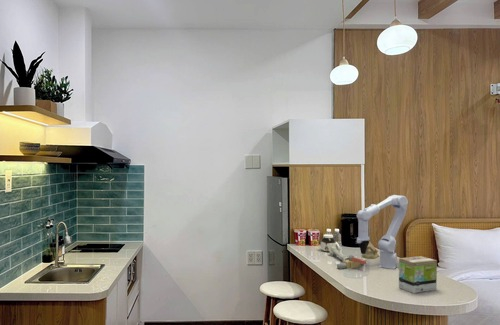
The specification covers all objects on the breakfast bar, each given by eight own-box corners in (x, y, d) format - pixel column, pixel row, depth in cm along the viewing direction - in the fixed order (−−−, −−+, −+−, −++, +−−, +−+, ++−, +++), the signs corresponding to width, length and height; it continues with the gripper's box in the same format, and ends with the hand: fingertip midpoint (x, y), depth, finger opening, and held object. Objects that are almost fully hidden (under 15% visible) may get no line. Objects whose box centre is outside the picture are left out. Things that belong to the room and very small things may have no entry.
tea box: (414, 294, 174) (414, 262, 174) (398, 287, 183) (398, 257, 184) (437, 290, 180) (437, 259, 180) (420, 284, 189) (420, 255, 190)
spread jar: (319, 251, 265) (319, 234, 265) (328, 249, 273) (328, 233, 273) (333, 254, 256) (333, 237, 257) (342, 251, 264) (342, 235, 264)
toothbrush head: (343, 258, 229) (328, 244, 253) (343, 268, 230) (327, 253, 254) (351, 257, 230) (335, 244, 254) (351, 268, 231) (335, 253, 255)
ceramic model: (362, 253, 259) (362, 239, 259) (379, 255, 254) (379, 240, 254) (360, 258, 246) (360, 242, 246) (378, 259, 241) (378, 244, 242)
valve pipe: (359, 263, 230) (359, 257, 230) (366, 265, 225) (366, 259, 225) (335, 267, 220) (335, 261, 220) (342, 270, 215) (342, 263, 215)
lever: (347, 259, 223) (347, 255, 223) (351, 259, 224) (351, 255, 224) (363, 264, 212) (363, 260, 212) (367, 264, 213) (367, 259, 214)
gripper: (362, 228, 228) (362, 250, 228) (351, 231, 217) (351, 254, 217) (373, 229, 224) (373, 252, 223) (363, 232, 213) (363, 256, 212)
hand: (363, 253), depth 220 cm, fingers closed
